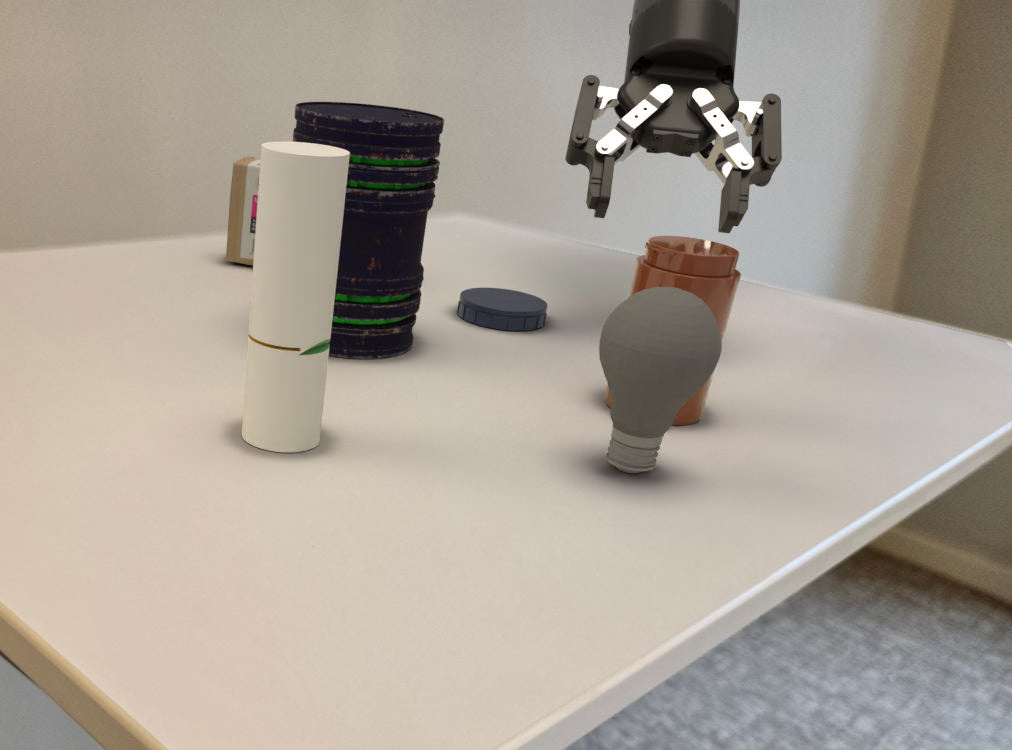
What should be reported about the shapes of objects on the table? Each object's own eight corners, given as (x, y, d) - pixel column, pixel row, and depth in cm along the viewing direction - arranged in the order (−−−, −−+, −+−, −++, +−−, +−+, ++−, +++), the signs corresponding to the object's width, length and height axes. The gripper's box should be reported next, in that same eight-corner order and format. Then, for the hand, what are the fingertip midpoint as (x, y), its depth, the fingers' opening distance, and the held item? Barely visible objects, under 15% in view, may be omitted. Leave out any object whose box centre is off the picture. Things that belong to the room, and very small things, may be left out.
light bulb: (653, 448, 62) (698, 275, 57) (705, 493, 57) (759, 307, 52) (556, 447, 61) (593, 271, 56) (600, 493, 56) (646, 303, 51)
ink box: (223, 263, 92) (229, 161, 88) (238, 254, 95) (244, 155, 92) (338, 281, 90) (349, 177, 86) (349, 272, 93) (360, 171, 89)
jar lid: (473, 329, 81) (476, 310, 80) (446, 304, 86) (448, 285, 86) (557, 332, 82) (561, 313, 81) (525, 307, 88) (528, 288, 87)
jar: (637, 385, 72) (675, 230, 67) (719, 414, 68) (765, 252, 63) (585, 400, 68) (621, 238, 64) (668, 432, 65) (713, 262, 60)
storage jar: (302, 361, 71) (324, 119, 64) (257, 317, 79) (273, 98, 72) (438, 357, 74) (473, 126, 67) (381, 315, 82) (408, 105, 75)
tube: (249, 452, 57) (270, 153, 50) (235, 422, 60) (254, 139, 53) (327, 452, 57) (360, 158, 50) (310, 422, 61) (337, 144, 54)
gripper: (594, -19, 76) (569, 172, 71) (803, 0, 74) (791, 197, 70) (575, 59, 83) (551, 238, 79) (765, 78, 82) (752, 262, 77)
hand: (664, 218), depth 74 cm, fingers open, 8 cm apart
